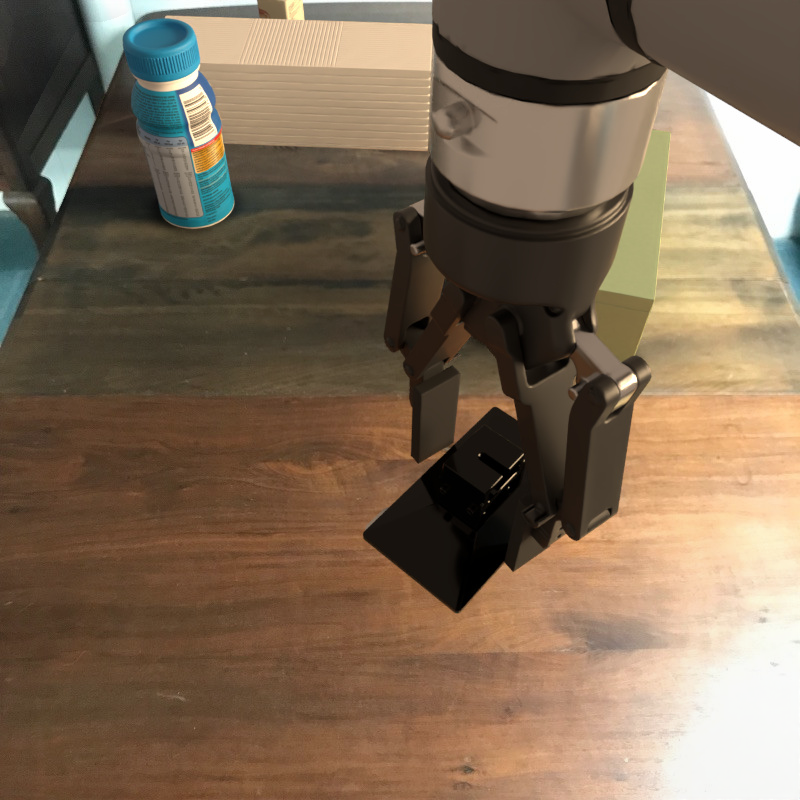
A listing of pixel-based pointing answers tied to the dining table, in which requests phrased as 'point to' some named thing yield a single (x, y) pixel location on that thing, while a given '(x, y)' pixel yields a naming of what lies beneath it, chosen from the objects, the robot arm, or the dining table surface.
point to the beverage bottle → (178, 123)
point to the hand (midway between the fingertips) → (477, 498)
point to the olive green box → (635, 257)
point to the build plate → (458, 513)
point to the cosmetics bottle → (281, 9)
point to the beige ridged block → (318, 81)
